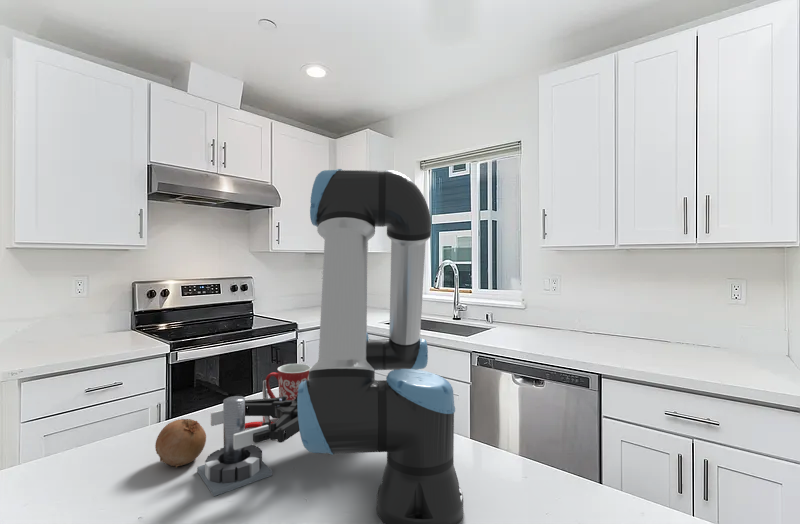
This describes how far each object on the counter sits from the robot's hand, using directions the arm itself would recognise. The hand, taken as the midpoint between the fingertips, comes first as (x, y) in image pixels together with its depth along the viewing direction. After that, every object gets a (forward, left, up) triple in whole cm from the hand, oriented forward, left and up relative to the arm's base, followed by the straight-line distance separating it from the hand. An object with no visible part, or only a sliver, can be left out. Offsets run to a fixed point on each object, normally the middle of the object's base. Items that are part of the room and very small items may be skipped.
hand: (221, 429), depth 80 cm
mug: (+20, -23, -10) cm, 32 cm away
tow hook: (+17, -12, -10) cm, 23 cm away
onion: (+12, +5, -10) cm, 16 cm away
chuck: (0, -2, -9) cm, 10 cm away
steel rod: (0, -2, -8) cm, 9 cm away
